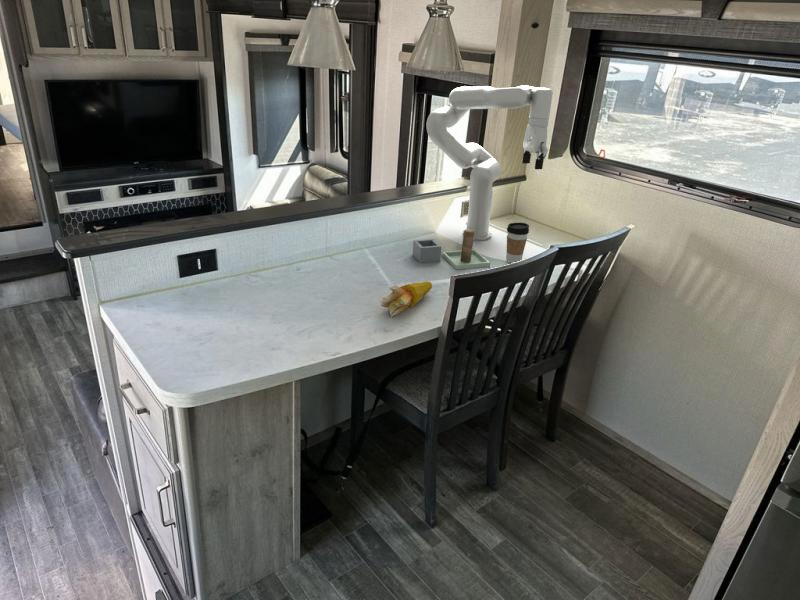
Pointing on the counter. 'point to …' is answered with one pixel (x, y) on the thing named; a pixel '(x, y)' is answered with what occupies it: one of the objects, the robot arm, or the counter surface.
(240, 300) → the counter surface
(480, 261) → the sage tray
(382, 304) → the corn cob
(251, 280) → the counter surface
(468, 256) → the walnut dowel
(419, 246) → the square cup
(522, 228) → the coffee cup
